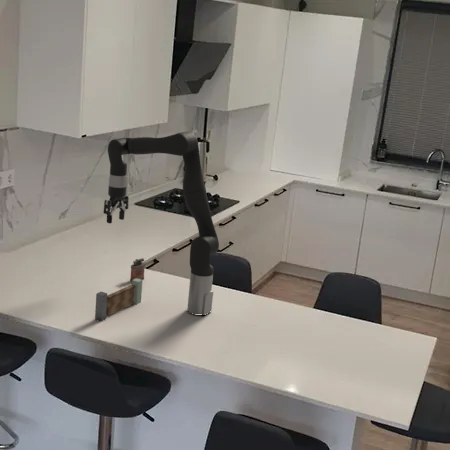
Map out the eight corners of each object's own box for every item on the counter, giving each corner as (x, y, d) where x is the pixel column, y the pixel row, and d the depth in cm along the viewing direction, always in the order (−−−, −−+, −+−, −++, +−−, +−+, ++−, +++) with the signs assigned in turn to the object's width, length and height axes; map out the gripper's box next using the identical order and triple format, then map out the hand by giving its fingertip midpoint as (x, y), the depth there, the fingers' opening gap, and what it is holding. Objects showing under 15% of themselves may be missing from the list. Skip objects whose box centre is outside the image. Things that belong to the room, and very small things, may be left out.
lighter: (133, 283, 313) (134, 262, 310) (128, 280, 315) (129, 260, 312) (145, 279, 319) (147, 258, 316) (140, 277, 321) (142, 256, 318)
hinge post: (105, 319, 273) (107, 293, 270) (101, 321, 270) (102, 295, 267) (99, 317, 274) (101, 291, 271) (94, 319, 271) (96, 293, 268)
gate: (108, 315, 275) (109, 297, 273) (105, 314, 276) (106, 295, 273) (134, 303, 289) (135, 285, 287) (130, 302, 290) (131, 284, 288)
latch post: (140, 302, 293) (142, 280, 290) (136, 304, 290) (138, 281, 287) (135, 300, 294) (136, 278, 291) (130, 302, 291) (132, 280, 289)
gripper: (114, 189, 289) (112, 226, 293) (134, 184, 301) (132, 220, 305) (100, 185, 292) (98, 222, 296) (120, 180, 304) (118, 216, 309)
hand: (115, 221), depth 301 cm, fingers open, 8 cm apart
